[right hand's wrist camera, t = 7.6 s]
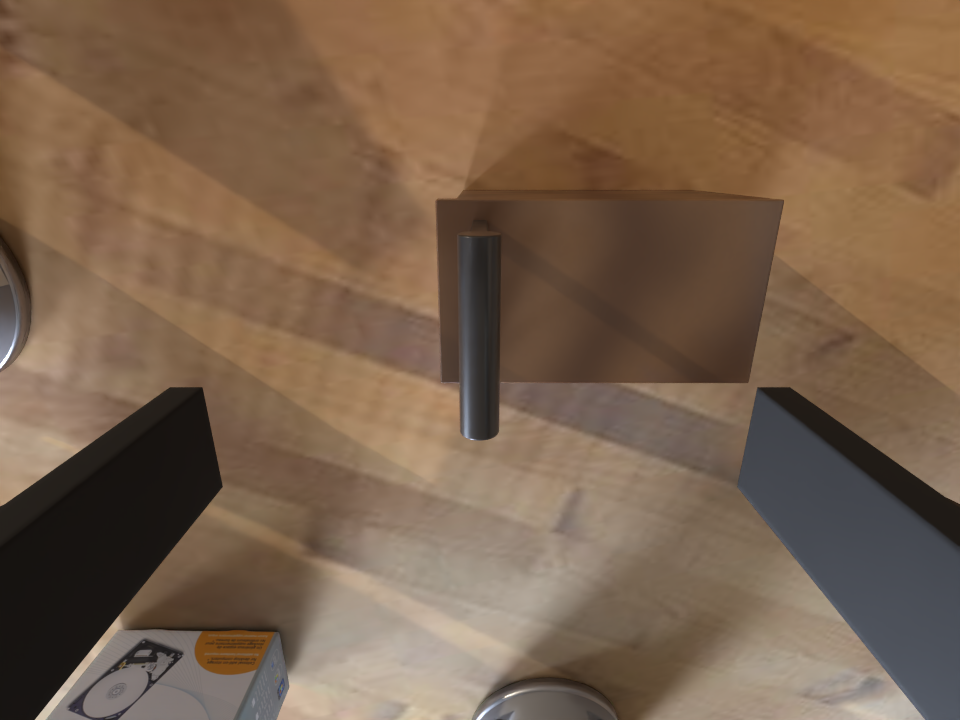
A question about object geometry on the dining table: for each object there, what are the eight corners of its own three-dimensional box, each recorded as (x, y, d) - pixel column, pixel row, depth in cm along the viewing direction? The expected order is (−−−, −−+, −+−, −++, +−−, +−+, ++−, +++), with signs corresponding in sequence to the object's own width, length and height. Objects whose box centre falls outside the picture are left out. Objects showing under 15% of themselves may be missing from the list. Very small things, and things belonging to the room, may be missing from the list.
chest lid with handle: (442, 375, 28) (426, 458, 20) (437, 198, 25) (416, 213, 17) (739, 376, 28) (841, 458, 20) (772, 198, 25) (910, 213, 17)
